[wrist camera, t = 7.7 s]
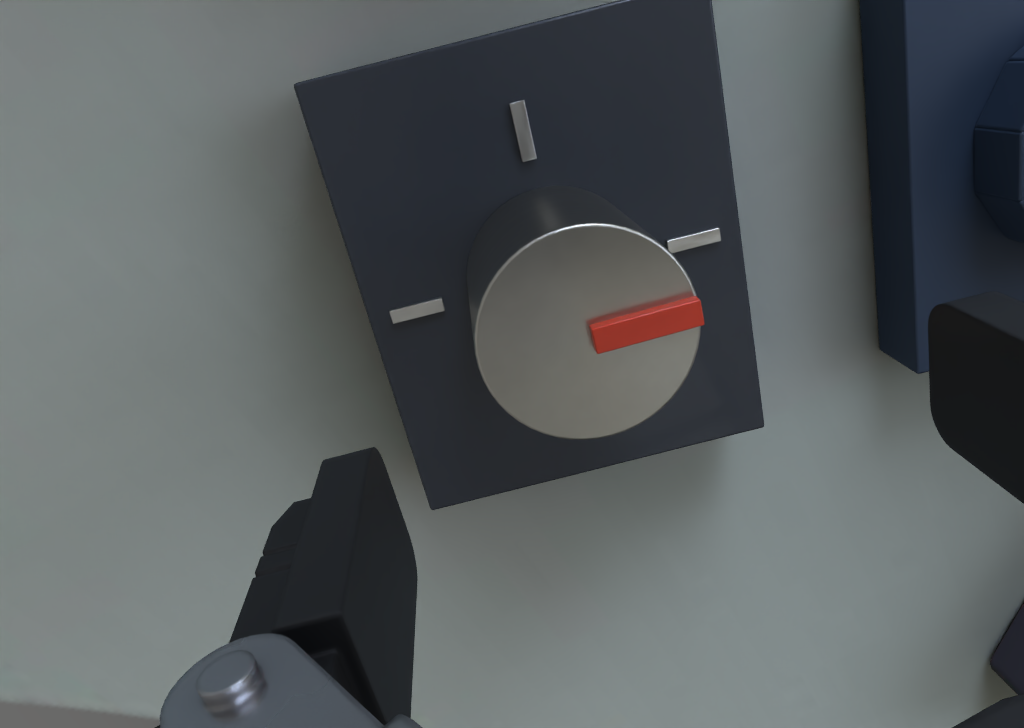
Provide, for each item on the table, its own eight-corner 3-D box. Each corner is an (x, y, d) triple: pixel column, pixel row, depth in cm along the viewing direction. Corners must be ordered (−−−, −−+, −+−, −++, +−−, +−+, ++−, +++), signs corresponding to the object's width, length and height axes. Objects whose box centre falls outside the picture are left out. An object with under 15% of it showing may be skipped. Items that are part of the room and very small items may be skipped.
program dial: (492, 377, 21) (508, 472, 16) (445, 213, 19) (445, 263, 14) (656, 331, 21) (723, 413, 16) (622, 163, 19) (685, 197, 14)
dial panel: (312, 81, 21) (290, 84, 18) (673, -11, 21) (712, -24, 18) (432, 462, 25) (430, 514, 22) (729, 387, 25) (767, 430, 22)
